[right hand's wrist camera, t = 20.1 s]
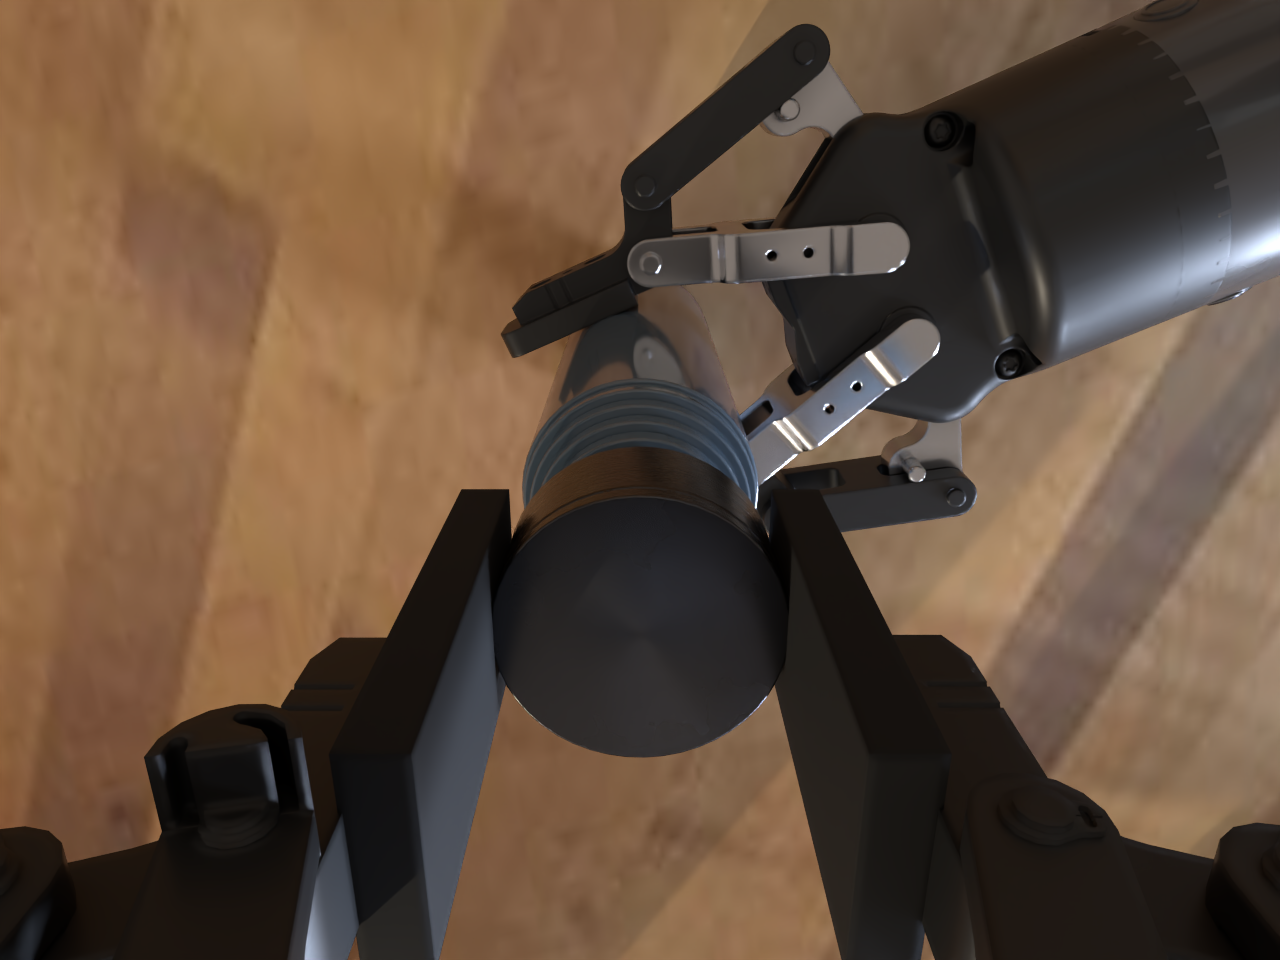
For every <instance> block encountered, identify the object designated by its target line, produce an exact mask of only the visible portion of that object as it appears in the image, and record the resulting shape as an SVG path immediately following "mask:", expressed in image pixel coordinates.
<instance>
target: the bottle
mask: <svg viewBox="0 0 1280 960" xmlns="http://www.w3.org/2000/svg"><path fill="white" fill-rule="evenodd" d="M626 447H657V448H663V449H669V450H674V451H677V452H681V453H684V454H688V455H691V456H693V457H695V458H697V459H700V460H702V461H704V462H706V463H708V464H710V465H711V466H713V467H715V468H716V469H718V470H720V471H721V472H722V473H724V474H725V475H726V476H727V477H729V478H730V479H731V480H733V481H734V482H735V483H736V484H737V485H738V486H739V487H740V488H741V490H742V491H743V492H744V493H745V494H746V495H747V496H748V498H749V499H750V501H751V502H752V503H753V505H754V506H755V508H756V510H757V502H758V488H759V485H758V474H757V468H756V464H755V460H754V456H753V453H752V450H751V448H750V445H749V442H748V439H747V436H746V433H745V431H744V428H743V425H742V422H741V419H740V416H739V414H738V411H737V408H736V405H735V402H734V399H733V397H732V394H731V391H730V388H729V385H728V382H727V380H726V377H725V374H724V371H723V368H722V365H721V363H720V360H719V357H718V354H717V351H716V348H715V346H714V343H713V340H712V337H711V334H710V331H709V329H708V326H707V323H706V320H705V317H704V315H703V312H702V310H701V308H700V306H699V305H698V303H697V302H696V300H695V299H694V297H693V296H692V295H691V294H690V293H689V292H688V291H687V290H686V289H685V288H684V287H682V286H681V285H676V286H665V287H654V288H652V289H649V290H647V291H645V292H643V293H640V294H638V305H636V306H634V307H632V308H629V309H627V310H625V311H623V312H620V313H618V314H616V315H613V316H610V317H608V318H606V319H603V320H601V321H599V322H597V323H595V324H593V325H591V326H588V327H586V328H584V329H582V330H579V331H577V332H575V333H572V334H570V336H569V339H568V342H567V344H566V347H565V350H564V353H563V356H562V359H561V361H560V364H559V367H558V370H557V373H556V376H555V379H554V381H553V384H552V387H551V390H550V393H549V396H548V398H547V401H546V404H545V407H544V410H543V413H542V415H541V418H540V421H539V424H538V427H537V430H536V433H535V435H534V438H533V441H532V444H531V447H530V450H529V452H528V455H527V459H526V463H525V467H524V471H523V482H522V493H523V503H524V509H525V508H526V506H527V505H528V503H529V502H530V500H531V499H532V497H533V496H534V495H535V494H536V493H537V492H538V490H539V489H540V488H541V487H542V486H543V485H544V484H545V483H546V482H547V481H549V480H550V479H551V478H552V477H553V476H554V475H556V474H557V473H559V472H560V471H561V470H563V469H564V468H566V467H567V466H569V465H571V464H573V463H575V462H577V461H579V460H581V459H583V458H585V457H588V456H591V455H594V454H596V453H599V452H603V451H608V450H612V449H617V448H626Z"/></svg>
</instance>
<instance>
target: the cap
mask: <svg viewBox="0 0 1280 960" xmlns="http://www.w3.org/2000/svg"><path fill="white" fill-rule="evenodd" d="M788 619H789V605H788V599H787V595H786V591H785V588H784V585H783V582H782V579H781V576H780V573H779V570H778V566H777V563H776V560H775V557H774V554H773V551H772V548H771V544H770V541H769V538H768V535H767V532H766V530H765V527H764V524H763V521H762V519H761V517H760V515H759V514H758V512H757V510H756V508H755V506H754V505H753V503H752V502H751V501H750V499H749V498H748V496H747V495H746V494H745V493H744V492H743V491H742V490H741V488H740V487H739V486H738V485H737V484H736V483H735V482H734V481H733V480H731V479H730V478H729V477H727V476H726V475H725V474H724V473H722V472H721V471H720V470H718V469H716V468H715V467H713V466H711V465H710V464H708V463H706V462H704V461H702V460H700V459H697V458H695V457H693V456H691V455H688V454H684V453H681V452H677V451H674V450H669V449H663V448H657V447H626V448H617V449H612V450H608V451H603V452H599V453H596V454H594V455H591V456H588V457H585V458H583V459H581V460H579V461H577V462H575V463H573V464H571V465H569V466H567V467H566V468H564V469H563V470H561V471H560V472H559V473H557V474H556V475H554V476H553V477H552V478H551V479H550V480H549V481H547V482H546V483H545V484H544V485H543V486H542V487H541V488H540V489H539V490H538V492H537V493H536V494H535V495H534V496H533V497H532V499H531V500H530V502H529V503H528V505H527V506H526V508H525V509H524V511H523V513H522V515H521V517H520V519H519V521H518V524H517V526H516V528H515V531H514V534H513V538H512V541H511V544H510V547H509V550H508V553H507V557H506V560H505V563H504V566H503V569H502V572H501V576H500V579H499V582H498V585H497V588H496V592H495V596H494V599H493V603H492V627H493V641H494V655H495V660H496V663H497V666H498V669H499V671H500V673H501V675H502V677H503V679H504V681H505V683H506V685H507V687H508V688H509V690H510V691H511V693H512V694H513V696H514V697H515V699H516V700H517V701H518V703H519V704H520V705H521V706H522V707H523V708H524V709H525V710H526V711H527V713H528V714H529V715H531V716H532V717H533V718H534V719H535V720H536V721H538V722H539V723H540V724H541V725H542V726H544V727H545V728H547V729H548V730H550V731H551V732H553V733H554V734H556V735H557V736H559V737H561V738H563V739H565V740H567V741H569V742H571V743H573V744H576V745H578V746H581V747H584V748H586V749H589V750H593V751H597V752H601V753H604V754H609V755H616V756H623V757H656V756H666V755H671V754H676V753H681V752H685V751H688V750H691V749H694V748H698V747H700V746H703V745H705V744H707V743H709V742H712V741H714V740H716V739H718V738H720V737H721V736H723V735H725V734H727V733H728V732H730V731H731V730H733V729H734V728H735V727H737V726H738V725H739V724H741V723H742V722H743V721H745V720H746V719H747V718H748V717H749V716H750V715H751V714H752V713H753V712H754V711H755V710H756V709H757V708H758V707H759V706H760V705H761V703H762V702H763V701H764V700H765V698H766V697H767V696H768V695H769V693H770V691H771V690H772V688H773V686H774V685H775V683H776V681H777V680H778V677H779V675H780V673H781V670H782V668H783V666H784V663H785V659H786V649H787V635H788Z"/></svg>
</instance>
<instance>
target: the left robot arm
mask: <svg viewBox="0 0 1280 960" xmlns="http://www.w3.org/2000/svg"><path fill="white" fill-rule="evenodd" d="M829 56H830V44H829V41H828V38H827V36H826V35H825V33H824V32H823V31H822V30H821V29H820V28H818V27H817V26H815V25H811V24H801V25H797V26H795V27H793V28H792V29H790V30H789V31H787V32H786V33H785V34H783V35H782V36H780V37H779V38H778V39H776V40H775V41H774V42H773V43H771V44H770V45H769V46H768V47H767V48H765V49H764V50H763V51H762V52H761V53H760V54H758V55H757V56H756V57H755V58H754V59H752V60H751V61H750V62H749V63H748V64H747V65H745V66H744V67H743V68H742V69H741V70H739V71H738V72H737V73H736V74H735V75H734V76H732V77H731V78H730V79H729V80H728V81H727V82H725V83H724V84H723V85H722V86H721V87H719V88H718V89H717V90H716V91H715V92H714V93H712V94H711V95H710V96H709V97H708V98H706V99H705V100H704V101H703V102H702V103H701V104H699V105H698V106H697V107H696V108H695V109H693V110H692V111H691V112H690V113H689V114H688V115H686V116H685V117H684V118H683V119H682V120H681V121H679V122H678V123H677V124H676V125H675V126H673V127H672V128H671V129H670V130H669V131H668V132H666V133H665V134H664V135H663V136H662V137H660V138H659V139H658V140H657V141H656V142H655V143H653V144H652V145H651V146H650V147H649V148H647V149H646V150H645V151H644V152H643V153H642V154H640V155H639V156H638V157H637V158H636V159H634V160H633V161H632V162H631V163H630V164H629V165H628V166H627V168H626V169H625V171H624V174H623V176H622V179H621V192H622V195H623V203H624V218H625V232H624V235H623V237H622V239H621V240H620V242H619V243H618V244H617V245H616V246H615V247H614V248H612V249H610V250H609V251H606V252H604V253H602V254H600V255H598V256H595V257H593V258H591V259H589V260H586V261H584V262H582V263H580V264H578V265H575V266H573V267H571V268H569V269H566V270H565V271H562V272H560V273H558V274H555V275H553V276H551V277H549V278H546V279H544V280H542V281H540V282H538V283H535V284H533V285H531V287H530V288H529V289H528V290H527V291H526V292H525V293H524V294H523V295H522V296H521V297H520V298H519V300H518V301H517V302H516V304H515V305H514V306H513V308H512V309H513V311H514V313H515V315H516V317H517V319H515V320H513V321H511V322H510V323H508V324H507V326H506V327H505V328H504V330H503V331H502V333H501V336H502V338H503V340H504V342H505V344H506V346H507V348H508V350H509V352H510V354H511V356H512V358H515V357H519V356H522V355H524V354H527V353H529V352H531V351H534V350H536V349H538V348H540V347H543V346H545V345H547V344H550V343H552V342H554V341H556V340H559V339H561V338H563V337H566V336H568V335H570V334H572V333H575V332H577V331H579V330H582V329H584V328H586V327H588V326H591V325H593V324H595V323H597V322H599V321H601V320H603V319H606V318H608V317H610V316H613V315H616V314H618V313H620V312H623V311H625V310H627V309H629V308H632V307H634V306H636V305H638V294H640V293H643V292H645V291H647V290H649V289H652V288H654V287H665V286H676V285H688V284H700V283H712V282H720V283H728V284H737V283H750V282H762V284H763V286H764V289H765V292H766V294H767V295H768V297H769V298H770V299H771V301H772V302H773V303H774V305H775V306H776V307H777V309H778V310H779V311H780V313H781V314H782V316H783V320H784V330H785V341H786V346H787V349H788V351H789V354H790V357H791V359H792V362H793V364H792V365H791V366H790V367H788V368H787V369H786V370H785V371H784V372H782V373H781V374H780V375H779V376H778V377H777V378H775V379H774V380H773V381H772V382H771V383H770V384H769V385H768V386H767V388H766V389H765V391H764V393H763V395H762V396H761V397H760V398H759V399H758V400H757V401H756V402H755V403H753V404H752V405H751V406H750V407H749V408H748V409H746V410H745V411H744V412H743V413H742V414H741V415H739V416H740V419H741V422H742V425H743V428H744V431H745V433H746V436H747V439H748V442H749V445H750V448H751V450H752V453H753V456H754V460H755V464H756V468H757V474H758V485H759V488H758V502H757V512H758V514H759V515H760V517H761V519H762V521H763V523H764V526H765V529H766V531H767V532H768V533H769V527H770V509H771V492H772V489H819V490H820V492H821V494H822V496H823V498H824V500H825V502H826V504H827V506H828V508H829V510H830V512H831V514H832V516H833V518H834V520H835V522H836V524H837V526H838V528H839V530H840V532H846V531H853V530H860V529H868V528H875V527H882V526H889V525H897V524H904V523H911V522H918V521H925V520H933V519H940V518H947V517H954V516H959V515H962V514H964V513H966V512H967V511H969V510H970V509H971V508H972V506H973V505H974V503H975V501H976V498H977V491H976V487H975V485H974V484H973V483H972V482H971V481H970V480H969V479H968V477H967V476H966V475H965V474H964V473H963V471H962V449H961V418H962V417H964V416H965V415H967V414H968V413H970V412H971V411H972V410H973V409H974V408H975V407H976V406H977V405H978V404H979V403H980V402H981V400H982V399H983V398H984V397H985V396H986V395H988V394H989V393H990V392H991V391H992V390H994V389H995V388H996V387H998V386H999V385H1001V384H1003V383H1005V382H1007V381H1009V380H1012V379H1015V378H1018V377H1021V376H1025V375H1028V374H1032V373H1035V372H1038V371H1041V370H1044V369H1046V368H1049V367H1052V366H1054V365H1057V364H1059V363H1062V362H1064V361H1067V360H1069V359H1072V358H1074V357H1076V356H1079V355H1081V354H1084V353H1086V352H1089V351H1091V350H1094V349H1096V348H1099V347H1101V346H1104V345H1106V344H1109V343H1111V342H1114V341H1116V340H1119V339H1121V338H1124V337H1126V336H1129V335H1131V334H1134V333H1136V332H1139V331H1141V330H1144V329H1146V328H1149V327H1151V326H1154V325H1157V324H1159V323H1162V322H1164V321H1167V320H1169V319H1172V318H1174V317H1177V316H1179V315H1182V314H1184V313H1187V312H1189V311H1192V310H1194V309H1197V308H1199V307H1201V306H1204V305H1214V304H1218V303H1222V302H1225V301H1228V300H1230V299H1233V298H1236V297H1238V296H1240V295H1242V294H1243V292H1245V291H1247V290H1249V289H1250V288H1252V287H1253V286H1254V285H1256V284H1259V283H1261V282H1264V281H1267V280H1269V279H1272V278H1274V277H1277V276H1279V275H1280V0H1156V1H1154V2H1152V3H1150V4H1148V5H1146V6H1145V7H1144V8H1142V9H1139V10H1137V11H1135V12H1133V13H1131V14H1129V15H1126V16H1124V17H1122V18H1120V19H1118V20H1115V21H1113V22H1111V23H1109V24H1107V25H1104V26H1102V27H1100V28H1098V29H1095V30H1093V31H1090V32H1088V33H1086V34H1084V35H1082V36H1079V37H1077V38H1075V39H1073V40H1070V41H1068V42H1066V43H1064V44H1061V45H1059V46H1057V47H1055V48H1053V49H1051V50H1048V51H1046V52H1044V53H1042V54H1039V55H1037V56H1035V57H1033V58H1031V59H1028V60H1026V61H1024V62H1022V63H1020V64H1017V65H1015V66H1013V67H1011V68H1008V69H1006V70H1004V71H1002V72H1000V73H997V74H995V75H993V76H991V77H989V78H986V79H984V80H982V81H980V82H977V83H975V84H973V85H971V86H969V87H966V88H964V89H962V90H960V91H958V92H955V93H953V94H951V95H949V96H946V97H944V98H942V99H940V100H938V101H935V102H933V103H931V104H929V105H927V106H924V107H922V108H920V109H917V110H914V111H911V112H908V113H905V114H899V115H896V114H886V113H866V114H863V113H862V111H861V110H860V108H859V107H858V105H857V104H856V102H855V101H854V99H853V98H852V96H851V95H850V93H849V92H848V90H847V89H846V87H845V85H844V84H843V82H842V81H841V79H840V78H839V76H838V75H837V73H836V72H835V70H834V69H833V67H832V66H831V64H830V63H829V61H828V60H829ZM758 124H759V125H760V126H761V127H762V129H763V130H764V131H766V132H767V133H769V134H771V135H773V136H790V135H793V134H795V133H797V132H798V131H800V130H802V129H804V128H808V127H810V128H814V129H817V130H818V131H820V132H821V133H822V134H823V135H824V136H825V139H824V141H823V143H822V144H821V146H820V147H819V149H818V151H817V152H816V154H815V156H814V157H813V159H812V160H811V162H810V164H809V165H808V167H807V168H806V170H805V172H804V173H803V175H802V177H801V178H800V180H799V181H798V183H797V185H796V186H795V188H794V190H793V191H792V193H791V194H790V196H789V198H788V199H787V201H786V203H785V204H784V206H783V207H782V209H781V211H780V212H779V214H778V215H777V217H771V218H759V219H748V220H736V221H725V222H717V223H712V224H708V225H699V226H687V227H675V228H672V211H671V196H673V195H674V194H675V193H676V192H677V191H679V190H680V189H681V188H682V187H683V186H685V185H686V184H687V183H688V182H689V181H691V180H692V179H693V178H694V177H696V176H697V175H698V174H699V173H700V172H702V171H703V170H704V169H705V168H706V167H708V166H709V165H710V164H711V163H712V162H714V161H715V160H716V159H717V158H719V157H720V156H721V155H722V154H723V153H725V152H726V151H727V150H728V149H729V148H731V147H732V146H733V145H734V144H735V143H737V142H738V141H739V140H740V139H742V138H743V137H744V136H745V135H746V134H748V133H749V132H750V131H751V130H752V129H754V128H755V127H756V126H757V125H758ZM828 405H830V407H829V408H826V406H828ZM865 408H866V409H870V410H875V411H880V412H884V413H889V414H894V415H899V416H903V417H908V418H913V419H917V420H918V421H917V423H916V425H915V426H914V428H913V429H912V430H911V431H910V432H908V433H907V434H905V435H902V436H899V437H896V438H893V439H892V440H890V441H889V442H888V443H887V444H886V445H885V446H884V448H883V450H882V454H881V455H880V456H873V457H866V458H859V459H852V460H845V461H838V462H831V463H824V464H817V465H810V466H803V467H795V468H788V469H781V470H779V469H780V468H782V467H783V466H784V465H785V464H787V463H788V462H789V461H790V460H791V459H793V458H794V457H795V456H796V455H798V454H799V453H801V452H803V451H810V450H813V449H814V448H816V447H818V446H819V445H820V444H822V443H823V442H824V441H825V440H827V439H828V438H829V437H830V436H832V435H833V434H834V433H835V432H836V431H838V430H839V429H840V428H841V427H843V426H844V425H845V424H846V423H847V422H849V421H850V420H851V419H852V418H854V417H855V416H856V415H857V414H859V413H860V412H861V411H862V410H863V409H865Z"/></svg>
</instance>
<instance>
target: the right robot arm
mask: <svg viewBox="0 0 1280 960" xmlns="http://www.w3.org/2000/svg"><path fill="white" fill-rule="evenodd" d="M511 541H512V535H511V517H510V499H509V489H462V490H461V492H460V494H459V496H458V498H457V500H456V502H455V504H454V506H453V507H452V509H451V511H450V513H449V515H448V517H447V519H446V521H445V523H444V525H443V527H442V529H441V531H440V533H439V535H438V537H437V539H436V541H435V543H434V545H433V547H432V549H431V551H430V553H429V555H428V557H427V559H426V561H425V563H424V565H423V567H422V569H421V571H420V573H419V575H418V577H417V579H416V581H415V583H414V585H413V587H412V589H411V591H410V593H409V595H408V597H407V599H406V601H405V603H404V605H403V607H402V609H401V611H400V613H399V615H398V617H397V619H396V621H395V623H394V625H393V627H392V629H391V631H390V633H389V635H388V637H387V638H339V639H337V640H336V641H335V642H333V643H332V644H330V645H329V646H328V647H326V648H325V649H324V650H322V651H321V652H320V653H318V654H317V655H316V656H314V657H313V658H311V659H310V661H309V662H308V664H307V665H306V667H305V669H304V670H303V672H302V673H301V675H300V677H299V678H298V680H297V681H296V683H295V684H294V690H291V691H290V692H289V694H288V696H287V697H286V699H285V700H284V702H283V704H282V705H281V708H278V707H274V706H271V705H267V704H238V705H233V706H229V707H224V708H220V709H215V710H210V711H208V712H205V713H203V714H201V715H198V716H196V717H193V718H191V719H189V720H186V721H184V722H182V723H180V724H179V725H177V726H176V727H174V728H173V729H172V730H170V731H169V732H167V733H166V734H164V735H163V736H162V737H160V738H159V739H158V740H157V741H156V742H155V744H154V745H153V746H152V748H151V749H150V750H149V751H148V753H147V754H146V755H145V757H144V759H145V763H146V767H147V772H148V776H149V780H150V784H151V788H152V792H153V796H154V801H155V805H156V809H157V813H158V817H159V821H160V825H161V829H162V833H161V835H160V838H159V840H158V841H155V842H152V843H149V844H145V845H142V846H139V847H135V848H132V849H127V850H123V851H118V852H114V853H110V854H105V855H101V856H96V857H92V858H88V859H83V860H79V861H74V862H70V863H68V862H67V859H66V856H65V852H64V849H63V845H62V843H61V842H60V841H59V840H58V839H57V838H56V837H55V836H54V835H53V834H51V833H50V832H49V831H46V830H41V829H36V828H31V827H26V826H24V827H15V828H6V829H0V960H347V959H348V956H349V953H350V950H351V947H352V945H353V942H354V939H355V936H356V937H357V944H358V950H359V957H360V960H439V957H440V953H441V949H442V945H443V941H444V937H445V933H446V928H447V924H448V920H449V916H450V912H451V908H452V904H453V900H454V896H455V892H456V887H457V883H458V879H459V875H460V871H461V867H462V863H463V859H464V855H465V850H466V846H467V842H468V838H469V834H470V830H471V826H472V822H473V818H474V813H475V809H476V805H477V801H478V797H479V793H480V789H481V785H482V781H483V777H484V772H485V768H486V764H487V760H488V756H489V752H490V748H491V744H492V740H493V735H494V731H495V727H496V723H497V719H498V715H499V711H500V707H501V703H502V699H503V694H504V690H505V686H506V683H505V681H504V679H503V677H502V675H501V673H500V671H499V669H498V666H497V663H496V660H495V655H494V641H493V627H492V603H493V599H494V596H495V592H496V588H497V585H498V582H499V579H500V576H501V572H502V569H503V566H504V563H505V560H506V557H507V553H508V550H509V547H510V544H511ZM769 541H770V544H771V548H772V551H773V554H774V557H775V560H776V563H777V566H778V570H779V573H780V576H781V579H782V582H783V585H784V588H785V591H786V595H787V599H788V605H789V619H788V635H787V649H786V659H785V663H784V666H783V668H782V670H781V673H780V675H779V677H778V680H777V681H776V683H775V688H776V692H777V696H778V700H779V705H780V709H781V713H782V717H783V721H784V725H785V729H786V733H787V737H788V741H789V746H790V750H791V754H792V758H793V762H794V766H795V770H796V774H797V778H798V782H799V787H800V791H801V795H802V799H803V803H804V807H805V811H806V815H807V819H808V824H809V828H810V832H811V836H812V840H813V844H814V848H815V852H816V856H817V860H818V865H819V869H820V873H821V877H822V881H823V885H824V889H825V893H826V897H827V902H828V906H829V910H830V914H831V918H832V922H833V926H834V930H835V934H836V938H837V943H838V947H839V951H840V955H841V959H842V960H921V954H922V948H923V941H924V934H925V933H926V936H927V939H928V941H929V944H930V947H931V950H932V953H933V955H934V958H935V960H1280V825H1273V824H1264V823H1253V824H1247V825H1242V826H1237V827H1233V828H1232V829H1231V830H1230V831H1229V832H1227V833H1226V834H1225V835H1224V836H1223V837H1222V838H1221V839H1220V841H1219V845H1218V848H1217V851H1216V855H1215V858H1214V859H1210V858H1205V857H1201V856H1196V855H1192V854H1187V853H1183V852H1179V851H1174V850H1170V849H1165V848H1161V847H1156V846H1152V845H1148V844H1145V843H1141V842H1138V841H1135V840H1131V839H1128V838H1125V837H1122V836H1120V834H1119V831H1118V829H1117V828H1116V826H1115V825H1114V823H1113V822H1112V820H1111V819H1110V817H1109V816H1108V814H1107V813H1106V811H1105V810H1104V809H1102V808H1101V807H1100V806H1099V805H1097V804H1096V803H1095V802H1094V801H1092V800H1091V799H1090V798H1089V797H1087V796H1086V795H1085V794H1084V793H1082V792H1080V791H1078V790H1075V789H1073V788H1071V787H1069V786H1067V785H1065V784H1063V783H1061V782H1059V781H1057V780H1053V779H1049V778H1047V776H1046V775H1045V773H1044V771H1043V770H1042V768H1041V767H1040V765H1039V764H1038V762H1037V760H1036V759H1035V757H1034V756H1033V754H1032V752H1031V751H1030V749H1029V748H1028V746H1027V745H1026V743H1025V741H1024V740H1023V738H1022V737H1021V735H1020V734H1019V732H1018V730H1017V729H1016V727H1015V726H1014V724H1013V722H1012V721H1011V719H1010V718H1009V716H1008V715H1007V713H1006V711H1005V710H1004V708H1000V702H999V700H998V699H997V697H996V696H995V694H994V692H993V691H992V689H991V688H990V687H987V681H986V680H985V678H984V677H983V675H982V673H981V672H980V670H979V669H978V667H977V666H976V664H975V662H974V661H973V659H972V658H971V656H969V655H968V654H967V653H965V652H964V651H963V650H961V649H960V648H958V647H957V646H956V645H954V644H953V643H952V642H950V641H949V640H947V639H946V638H945V637H943V636H942V635H892V634H891V632H890V630H889V628H888V626H887V624H886V622H885V620H884V618H883V616H882V614H881V612H880V610H879V608H878V606H877V604H876V602H875V600H874V598H873V596H872V594H871V592H870V590H869V588H868V586H867V584H866V582H865V580H864V578H863V576H862V574H861V572H860V570H859V568H858V566H857V564H856V562H855V560H854V558H853V556H852V554H851V552H850V550H849V548H848V546H847V544H846V542H845V540H844V538H843V536H842V534H841V532H840V530H839V528H838V526H837V524H836V522H835V520H834V518H833V516H832V514H831V512H830V510H829V508H828V506H827V504H826V502H825V500H824V498H823V496H822V494H821V492H820V490H819V489H772V492H771V509H770V527H769Z"/></svg>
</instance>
